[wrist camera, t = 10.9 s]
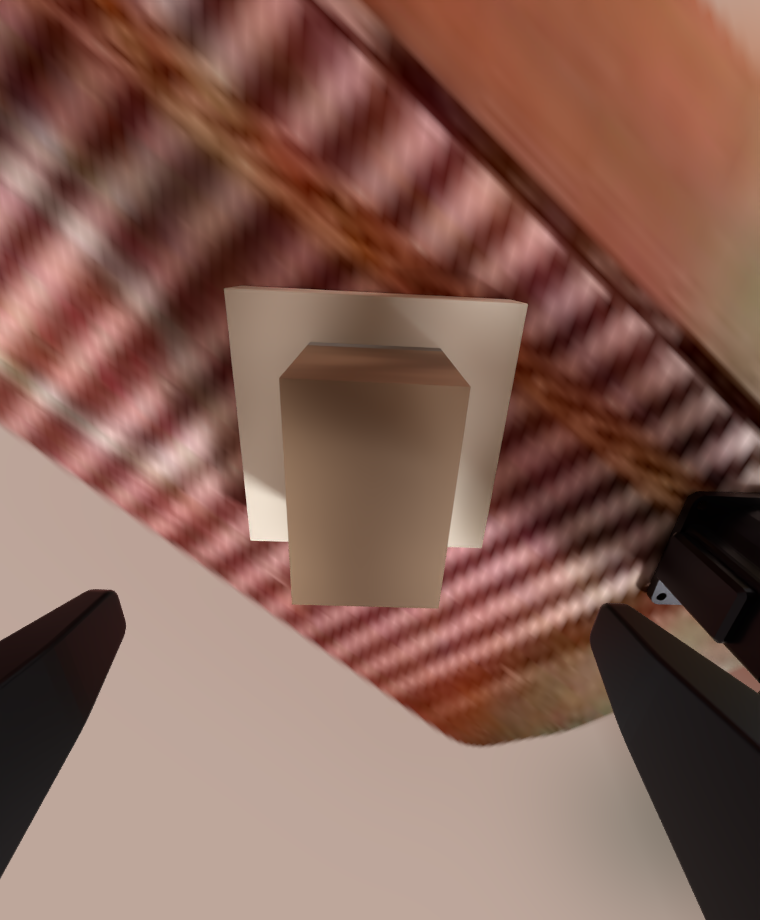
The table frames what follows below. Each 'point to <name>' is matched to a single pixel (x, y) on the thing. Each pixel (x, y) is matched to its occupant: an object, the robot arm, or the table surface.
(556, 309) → the table surface
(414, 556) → the block
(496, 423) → the birch board
